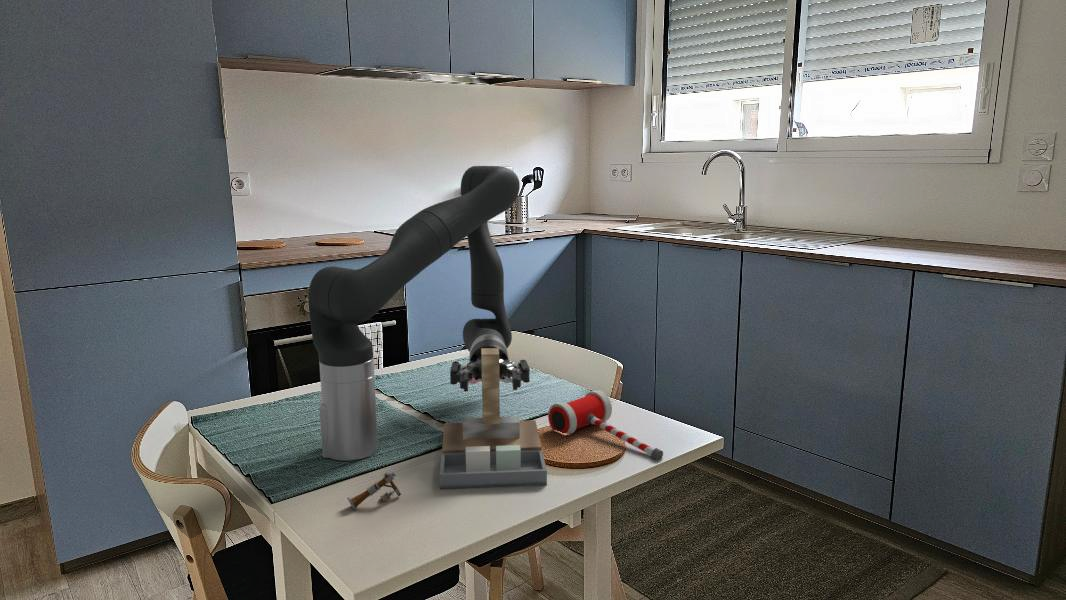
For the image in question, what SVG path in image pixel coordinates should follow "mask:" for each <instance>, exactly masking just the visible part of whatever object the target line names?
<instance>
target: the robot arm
mask: <svg viewBox="0 0 1066 600" xmlns="http://www.w3.org/2000/svg"><path fill="white" fill-rule="evenodd" d="M520 188H521V183H520V179H519V177H518V175H517V174H516V173H515V172H514V170H513V169H510V168H508V167H505V166H502V165H501V166H500V165H473V166H471V167H468V168H467V169H466V170H465V172H463V175H462V178H461V181H460V196H455V197H454V198H450V199H446V200H444V201H441V202H438V203H435V204H432V205H430V206H428V207H425V208H424V209H422V210H420V211H418V212H417V213H415V214H414V215H412V216H411V217H410V218H408V219H407V220H406V221H404V222H403V223H402V224H401V225H399V227H398V228H397V229H396V231H395V232H394V234H393V237H392V239H391V241H390V244H389V246H388V249H387V250H386V251H385V252H384V254H382V255H381V256H379V257H378V258H377V259H375V260H374V261H372V262H370V263H369V264H367V265H365V266H363V267H362V268H358V269H353V268H349V267H348V268H347V267H340V266H326V267H323V268H321V269H320V270H318V271H317V272H316V273H315V274H314V275H313V277H312V278H311V280H310V284H309V287H308V295H307V298H308V299H307V302H308V303H307V304H308V305H307V306H308V312H309V320H310V321H309V322H310V330H311V337H312V341H313V345H314V347H315V349H316V351H317V354H318V361H319V378H320V392H321V403H320V405H319V407H318V410H319V420H320V422H319V423H320V435H321V436H320V437H321V453H322V458H325V459H326V458H329V459H332V460H335V461H341V462H342V461H344V462H345V461H347V462H348V461H349V462H350V461H357V460H361V459H365V458H367V457H370V456H372V455H374V454H376V452H377V451H378V449H379V442H378V441H379V436H378V423H377V422H378V421H377V420H378V419H377V418H378V417H377V400H376V399H377V398H376V397H377V396H376V380H375V362H374V345H373V342H372V340H370V338H368V337H367V335H365V334H364V333H363V332H362V330H361V329H360V327H359V326H358V324H362V323H364V322H366V321H368V320H369V319H371V318H372V317H373V316H375V315H376V314H377V313H378V312H379V311H380V310H381V309H382V308H383V307H384V306H385V305H386V304H387V303H388V302H389V301H390V300H391V299H392V298H393V297H394V296H395V295H396V294H397V293H398V292H399V291H400V290H401V289H402V288H403V287H404V286H406V285H407V284H408V283H409V282H410V281H411V280H413V279H415V278H416V277H417V276H418V275H419V274H420V273H422V272H423V271H424V270H425V269H426V268H427V267H429V266H431V265H432V264H433V263H435V262H436V261H437V260H439V259H440V258H441V257H442V256H444V255H446V253H448V252H449V251H450V250H451V249H453V248H454V247H455V246H456V245H457V244H459V243H460V242H461V241H463V240H464V239H465V238H467V243H468V249H469V251H468V252H469V258H470V292H471V293H470V299H471V305H472V306H473V307H475V308H477V309H478V310H479V309H481V310H484V311H489V312H491V313H492V314H493V315H494V317H495V318H472V319H469V320H467V321H466V323H465V324H464V326H463V328H462V340H463V343H464V346H465V349H467V351H468V352H469V358H468V361H469V362H468V363H467V364H466V365H463V364H461V363H460V362H459V360H458V361H457V360H455V361H452V362H451V367H450V369H449V376H450V377H449V380H450V383H449V384H450V385H453V386H454V385H457V384H458V383H459V388H460V389H461V390H463V392H469V384H470V385H475V384H477V383H480V382H482V357H481V349H483V348H499V382H503V383H505V384H509V383H511V384H512V390H513V391H518V388H521V386H522V382H523V383H526V384H527V383H530V382H531V381H530V380H531V379H530V373H531V372H530V366H529V364H528V362H527V359H520V360H519V361H518V362H517V363H512V362H511V361H510V359H509V358H510V357H509V353H508V348H509V347H510V345H511V343H512V340H513V335H512V333H513V332H512V329H511V325H510V322H509V320H508V315H507V311H506V307H505V294H504V292H505V290H504V289H505V288H504V287H505V284H504V283H505V276H504V275H505V274H504V267H503V263H502V259H501V257H500V255H499V253H498V250H497V248H496V246H495V243H494V242H493V239H492V236H491V233H490V229H489V225H488V221H490V220H492V219H494V218H496V217H498V215H501V214H502V213H504V212H506V211H507V210H509V209H510V208H511V207H512V206H513V205H514V204H515V202H516V201H517V198H518V196H519V193H520V190H521V189H520Z"/></svg>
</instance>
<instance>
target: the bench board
mask: <svg viewBox="0 0 1066 600" xmlns="http://www.w3.org/2000/svg"><path fill="white" fill-rule="evenodd" d="M519 422H520V438H500V439H469V440H463V422H445V423H444V424H443V425H444V428H443V437H442V445H441V447H442V448H441V454H442V453H464V452H466V447H474V446H490V452H492V451H496V446H507V445H520V449H521V450H542V451H543V448H542V444H541V440H540V439H541V438H540V435H539V431H538V426H537V422H536V420H535V419H534V420H532V419H531V420H519Z"/></svg>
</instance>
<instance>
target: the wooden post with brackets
mask: <svg viewBox="0 0 1066 600" xmlns="http://www.w3.org/2000/svg"><path fill="white" fill-rule="evenodd" d="M383 475H384V476H383V478H381V479H380V480H379V481H377V482H374V484H372V485H370V486H369V487H368V488H366V490H365V491H363V492H362V493H360V494H358V495H356V496H354V497H352V498H350V497H346V499H347V501H348V503H349V504H350V506H351V507H352V509H353V511H354V512H356V511H358V509H357V508H358V507H359V505H361V504H362V503H363V502H364V501H365V500H367V498H369V497H372V496H373V495H374V494H376V493H378V491H380V490H381V488H382V487H387V488H391V489H393V491H389V492H388V491H385V493H384V494H382V495H379V496H380V498H379V499H378V503H381V504H382V503H386V502H387V501H388V500H391V496H393V494H394V493H395V494H396V495H397V496H398V497H400V496H401V495H402V493H401V491H400V489H399V487H398V486H397V485H396V484H395V482H394V480H395V477H396V476H397V473H396V471H393V472H388V473H384V474H383ZM389 484H390V485H389Z"/></svg>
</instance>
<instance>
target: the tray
mask: <svg viewBox="0 0 1066 600" xmlns="http://www.w3.org/2000/svg"><path fill="white" fill-rule="evenodd" d="M440 456H441V458H440V466H439V467H440V468H439V489H440V490H448V489H449V490H450V489H451V490H453V489H476V488H477V489H478V488H479V489H480V488H502V487H504V488H505V487H528V486H530V487H531V486H547V485H548V470H547V464H546V460H545V457H544V456H545V455H544V451H543V449H542V450H521V470H507V471H496V451H492V452H490V471H481V472H466V452H464V453H442V452H441V455H440Z"/></svg>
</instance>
